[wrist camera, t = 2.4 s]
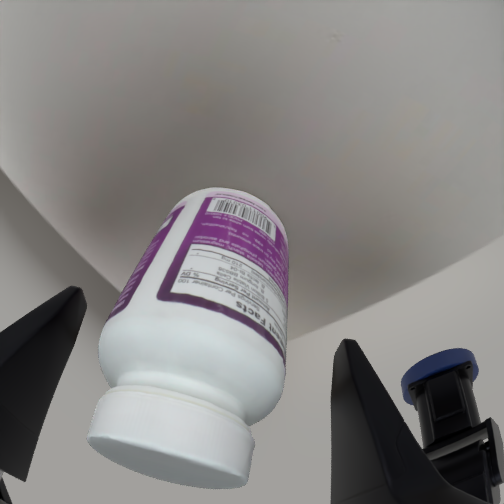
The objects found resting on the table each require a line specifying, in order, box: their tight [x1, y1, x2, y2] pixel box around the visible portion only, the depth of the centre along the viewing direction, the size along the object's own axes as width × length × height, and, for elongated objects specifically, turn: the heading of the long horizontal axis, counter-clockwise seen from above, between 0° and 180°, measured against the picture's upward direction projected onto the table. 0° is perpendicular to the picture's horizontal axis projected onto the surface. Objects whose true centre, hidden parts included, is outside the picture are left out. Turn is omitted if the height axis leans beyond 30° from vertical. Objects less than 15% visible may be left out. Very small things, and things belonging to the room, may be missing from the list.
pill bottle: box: [87, 187, 289, 489], centre depth 10 cm, size 5×5×10 cm
